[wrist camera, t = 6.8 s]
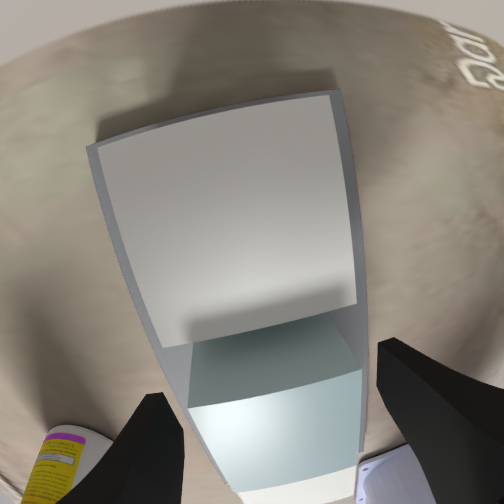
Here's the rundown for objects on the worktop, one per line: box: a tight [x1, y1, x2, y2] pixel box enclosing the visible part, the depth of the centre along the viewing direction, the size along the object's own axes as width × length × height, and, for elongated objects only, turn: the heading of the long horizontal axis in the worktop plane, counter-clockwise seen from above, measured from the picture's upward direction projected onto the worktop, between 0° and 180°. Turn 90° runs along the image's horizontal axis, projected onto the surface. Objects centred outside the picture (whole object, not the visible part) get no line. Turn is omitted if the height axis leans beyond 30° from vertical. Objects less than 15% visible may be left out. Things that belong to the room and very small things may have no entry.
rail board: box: [86, 89, 368, 504], centre depth 12 cm, size 22×10×6 cm, turn 12°
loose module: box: [187, 312, 362, 493], centre depth 10 cm, size 4×4×6 cm
